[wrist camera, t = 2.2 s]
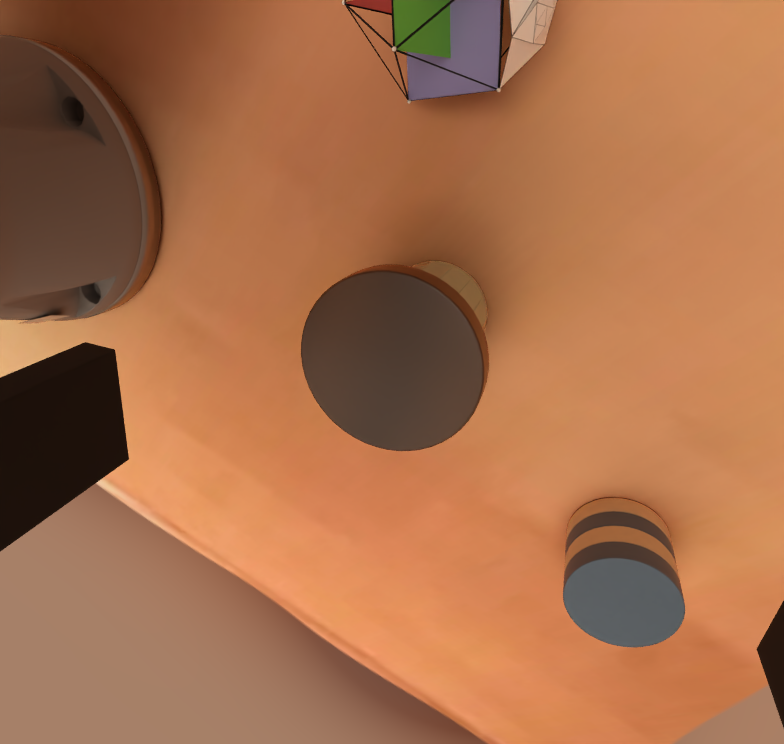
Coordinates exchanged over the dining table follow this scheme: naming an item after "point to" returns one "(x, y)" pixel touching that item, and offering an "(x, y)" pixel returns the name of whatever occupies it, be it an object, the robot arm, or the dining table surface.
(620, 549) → the chip stack
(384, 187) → the dining table surface
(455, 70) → the geometric puzzle
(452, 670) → the dining table surface
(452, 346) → the walnut chip
